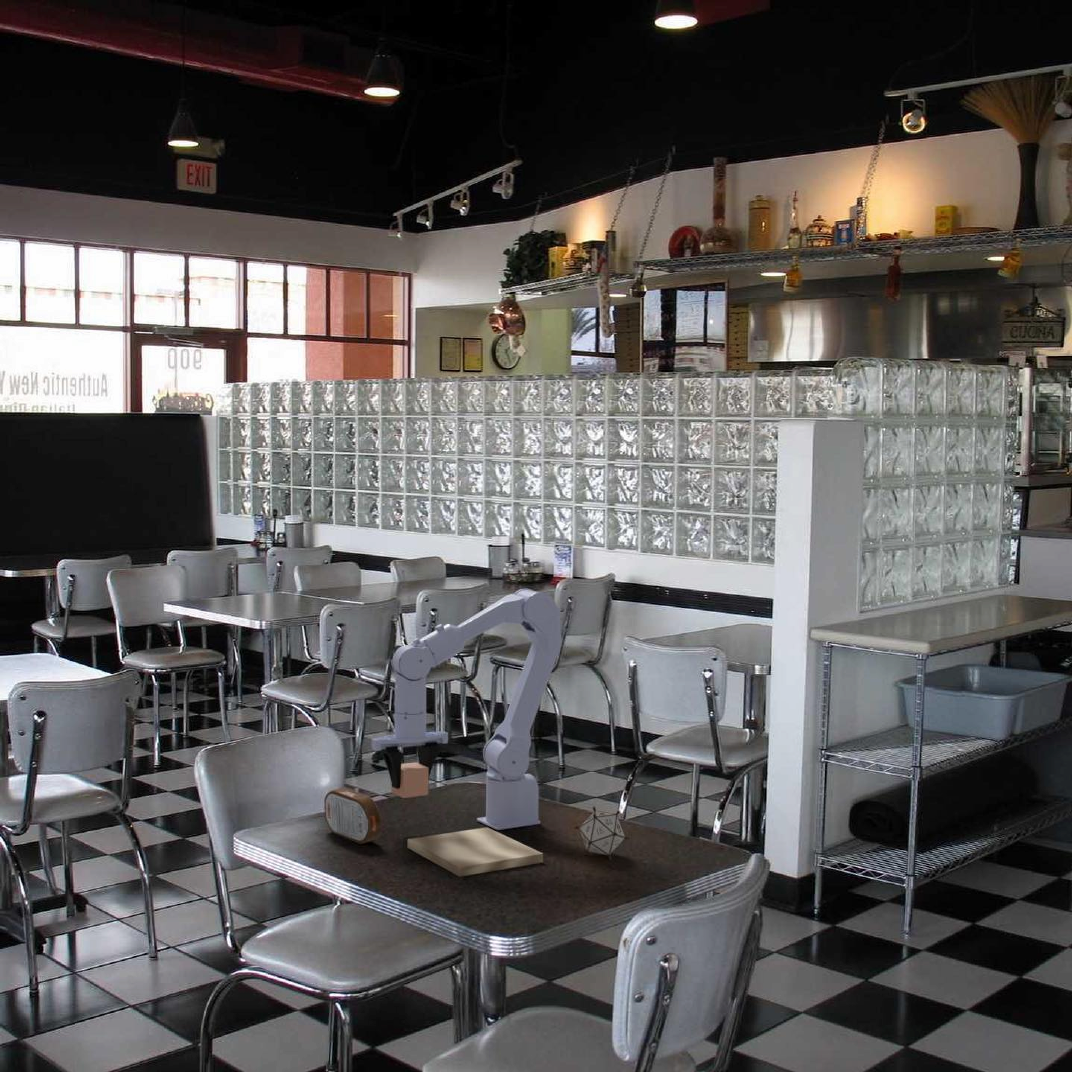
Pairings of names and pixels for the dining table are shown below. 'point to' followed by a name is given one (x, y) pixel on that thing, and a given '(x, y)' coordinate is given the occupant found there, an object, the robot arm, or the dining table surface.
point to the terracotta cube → (412, 781)
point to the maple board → (474, 851)
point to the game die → (602, 832)
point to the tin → (352, 815)
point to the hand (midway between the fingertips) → (409, 785)
